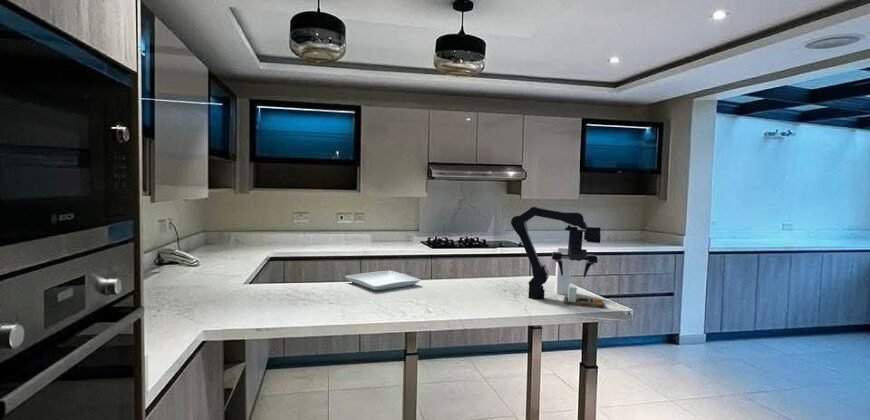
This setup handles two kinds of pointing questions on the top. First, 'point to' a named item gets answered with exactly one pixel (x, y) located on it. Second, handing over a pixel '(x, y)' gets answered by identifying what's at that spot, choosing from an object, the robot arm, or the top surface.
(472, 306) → the top surface
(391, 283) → the square plate
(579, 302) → the rack
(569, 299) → the block
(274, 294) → the top surface
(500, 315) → the top surface
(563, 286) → the milk
